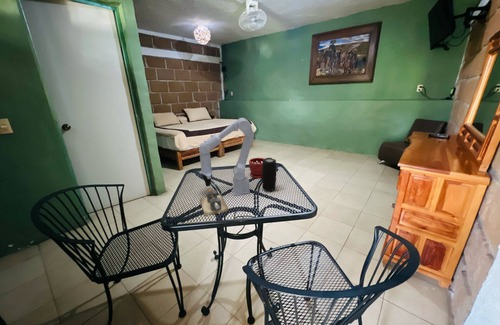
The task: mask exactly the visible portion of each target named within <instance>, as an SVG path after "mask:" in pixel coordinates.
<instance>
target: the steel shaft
mask: <svg viewBox="0 0 500 325" xmlns="http://www.w3.org/2000/svg"><path fill="white" fill-rule="evenodd" d="M209 191H214V189H213V188H209V189H207V190H206V193H207V192H209ZM210 197H211V199H215V197H214V195H210ZM213 204H214V206H215V208H216V209H219V205H218V203H213Z"/></svg>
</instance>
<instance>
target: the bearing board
mask: <svg viewBox="0 0 500 325" xmlns="http://www.w3.org/2000/svg"><path fill="white" fill-rule="evenodd" d="M210 195H214V197H215V199H211V197H210ZM199 203H200V205H201V207H202V211H203V214H204V216H205V217H208V216H211V215H216V214H220V213H225V212H229V207H228V204H227V203H226V201H225V199H224V198H223V196H222V194H218V192H217V190H216V189H215V190H213V191H209V192H207V191H206V197H201V198H199ZM213 203H218V205H219V209H216V208H215V206H214V204H213Z"/></svg>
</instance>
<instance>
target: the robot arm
mask: <svg viewBox="0 0 500 325" xmlns="http://www.w3.org/2000/svg"><path fill="white" fill-rule="evenodd" d="M253 130H254V129H253V126H252V124H251V123H250V121H249V120H247V119H246V118H245V117H240V118H238V119H236V120H235V121H233V122H232V123H230V124H229V125H228V126H227V127H225V129H224V128H223V130H221V131H220V132H219V134H218V133H217V134H216V133H214V134H211V135H210V137H209V138H208V139H206V140H204V141H203V142H202V143H200V145H199V147H198V152H199V160H200V168H201V170H200V171H199V175H201V177H202V179H203V180H204V183H205V186H206V187H210V186H211V181H212V178H213V169H212V159H211V152H210V151H211V150H214V149H215V148H216V147H217V146H219V145H220V144H221V143H222V140H223V139H224V138H225V137H227V136H229V135H230V134H231V133H232V132H239V131H241V132H242V133H243V135H244V138H243V141H242V145H241V149H240V152H239V156H238V159H237V162H236V164H235V166H234V167H233V169H232V173H233V177H232V182H233V184H232V186H233V187H232V189H231V192H232V193H233V196H240V195H245V194H250V193H251V191H250V190H251V189H250V188H251V187H250V178H249V177H248V176H246V174H245V171H246V165H247V161H248V157H249V154H250V151H251V149H252V148H251V147H252V145H253V140H254V137H255V134H254V131H253Z"/></svg>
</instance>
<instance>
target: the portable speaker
mask: <svg viewBox="0 0 500 325" xmlns="http://www.w3.org/2000/svg"><path fill="white" fill-rule="evenodd" d="M262 163H263V165H262V178H261V181H262V182H261V184H262V186H261V187H262V190H264V191H265V192H266V193H272V192H273V191H274V190H275V191H276V185H277V159H275V158H272V157H265V158H264V160H263V162H262Z"/></svg>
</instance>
